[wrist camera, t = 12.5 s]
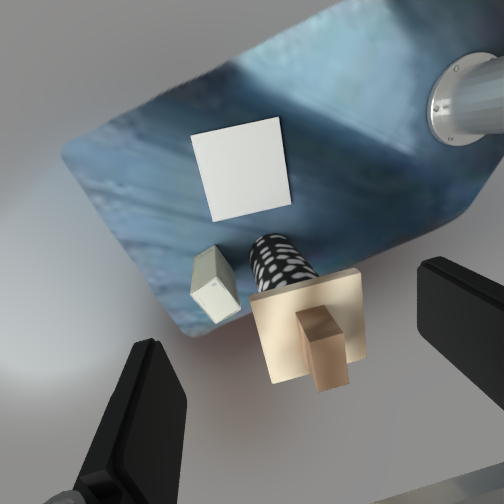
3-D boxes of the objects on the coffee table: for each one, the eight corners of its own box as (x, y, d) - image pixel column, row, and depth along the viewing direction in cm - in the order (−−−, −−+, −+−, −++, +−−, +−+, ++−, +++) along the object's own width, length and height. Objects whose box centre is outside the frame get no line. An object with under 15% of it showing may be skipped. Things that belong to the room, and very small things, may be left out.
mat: (277, 117, 39) (278, 116, 39) (290, 203, 44) (291, 204, 44) (190, 135, 39) (190, 135, 38) (213, 221, 44) (213, 221, 43)
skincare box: (194, 256, 45) (186, 292, 34) (215, 243, 45) (216, 275, 34) (214, 284, 48) (214, 325, 37) (235, 271, 47) (242, 309, 36)
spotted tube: (239, 253, 46) (255, 323, 28) (277, 223, 45) (321, 276, 27) (267, 285, 49) (298, 368, 31) (304, 258, 48) (359, 327, 30)
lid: (354, 267, 27) (387, 296, 22) (361, 350, 31) (390, 390, 26) (248, 295, 26) (256, 331, 21) (270, 375, 31) (281, 421, 25)
